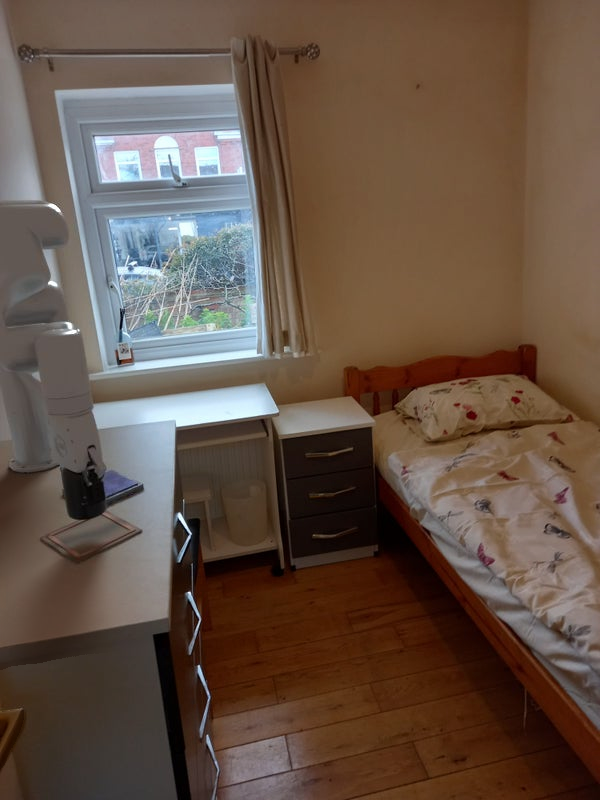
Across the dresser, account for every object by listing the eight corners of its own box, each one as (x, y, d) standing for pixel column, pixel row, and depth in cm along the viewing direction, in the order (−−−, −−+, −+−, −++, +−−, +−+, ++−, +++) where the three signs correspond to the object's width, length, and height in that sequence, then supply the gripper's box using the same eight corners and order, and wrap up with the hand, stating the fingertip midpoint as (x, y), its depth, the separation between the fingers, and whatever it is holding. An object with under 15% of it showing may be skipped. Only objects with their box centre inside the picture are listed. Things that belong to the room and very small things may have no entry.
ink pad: (62, 494, 120) (61, 488, 119) (112, 474, 128) (111, 468, 128) (93, 511, 112) (91, 504, 112) (143, 488, 121) (143, 482, 120)
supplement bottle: (95, 522, 98) (84, 459, 95) (60, 520, 100) (48, 457, 96) (115, 503, 105) (105, 444, 101) (81, 501, 106) (71, 442, 102)
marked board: (40, 539, 103) (39, 536, 103) (103, 510, 112) (103, 507, 112) (77, 564, 95) (76, 561, 95) (142, 531, 104) (142, 528, 104)
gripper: (23, 399, 98) (41, 491, 104) (74, 418, 88) (92, 520, 93) (64, 389, 104) (79, 477, 109) (117, 406, 93) (131, 503, 99)
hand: (85, 496), depth 101 cm, fingers closed on supplement bottle, 6 cm apart
